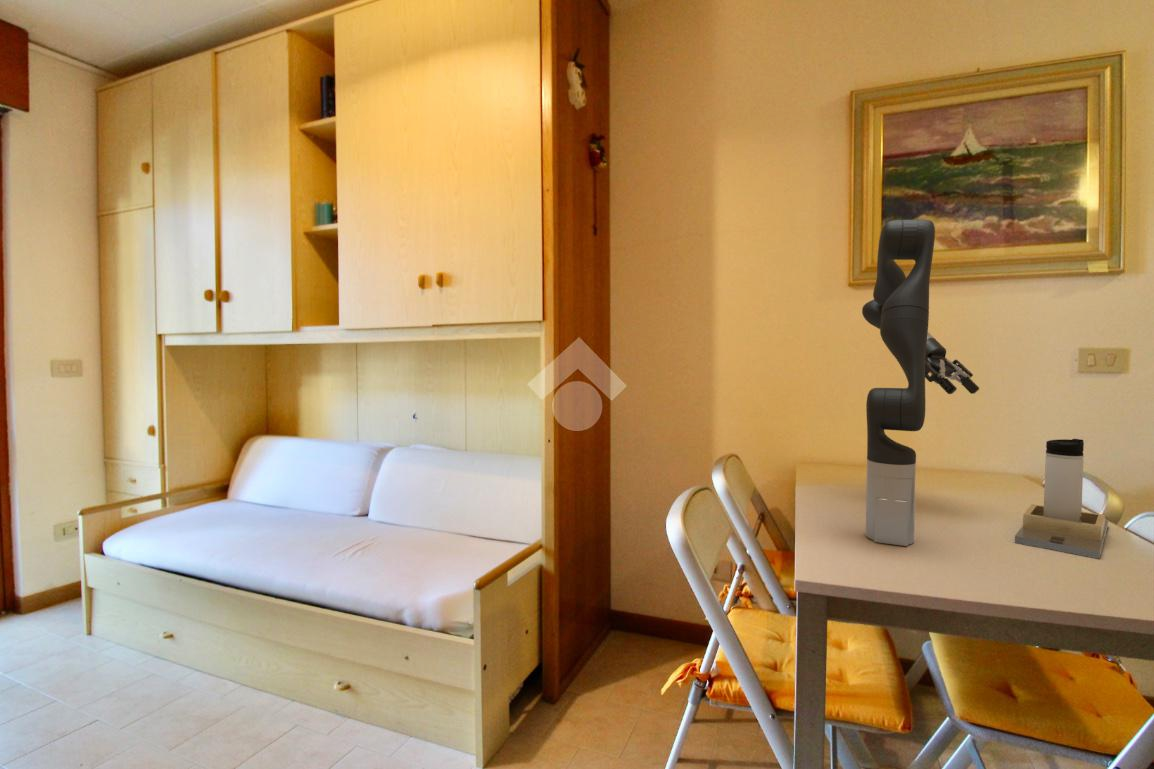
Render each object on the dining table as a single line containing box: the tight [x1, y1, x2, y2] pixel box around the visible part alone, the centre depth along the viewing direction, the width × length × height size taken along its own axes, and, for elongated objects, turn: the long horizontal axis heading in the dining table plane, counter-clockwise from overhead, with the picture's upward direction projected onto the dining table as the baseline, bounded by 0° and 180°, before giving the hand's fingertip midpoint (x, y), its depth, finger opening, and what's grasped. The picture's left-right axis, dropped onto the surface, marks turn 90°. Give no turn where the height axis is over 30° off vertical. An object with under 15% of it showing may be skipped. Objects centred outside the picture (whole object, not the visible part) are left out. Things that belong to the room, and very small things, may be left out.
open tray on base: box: [1014, 503, 1109, 560], centre depth 119 cm, size 30×13×4 cm, turn 133°
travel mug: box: [1043, 438, 1085, 522], centre depth 118 cm, size 6×7×20 cm
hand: (964, 391), depth 131 cm, fingers open, 8 cm apart
